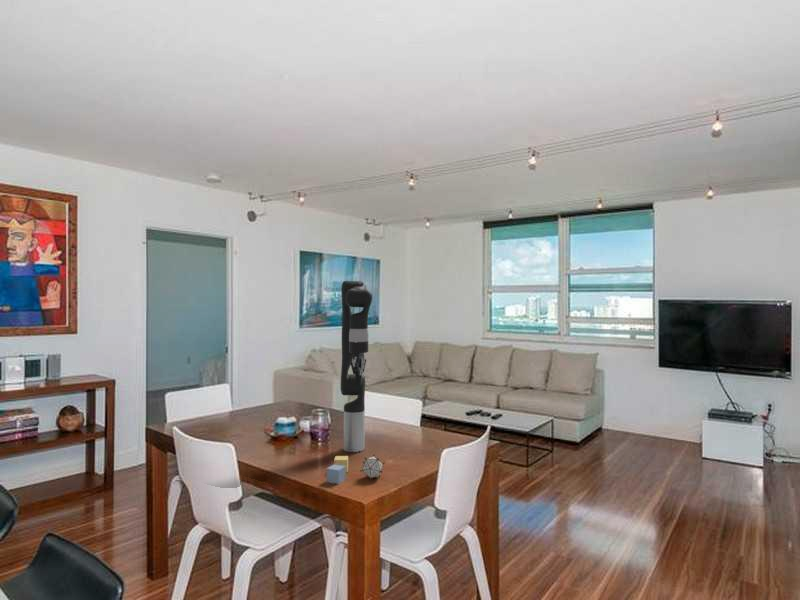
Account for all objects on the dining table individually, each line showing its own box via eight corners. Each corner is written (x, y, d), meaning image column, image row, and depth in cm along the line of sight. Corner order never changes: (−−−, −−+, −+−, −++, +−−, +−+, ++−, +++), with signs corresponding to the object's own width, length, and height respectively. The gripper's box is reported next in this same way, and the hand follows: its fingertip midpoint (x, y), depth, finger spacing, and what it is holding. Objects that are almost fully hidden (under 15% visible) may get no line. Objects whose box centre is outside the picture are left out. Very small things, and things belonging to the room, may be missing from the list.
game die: (368, 489, 182) (352, 469, 180) (372, 473, 190) (357, 454, 187) (387, 480, 179) (372, 459, 177) (391, 464, 187) (376, 445, 185)
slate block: (333, 478, 183) (333, 464, 183) (345, 479, 181) (345, 466, 181) (326, 482, 179) (326, 468, 179) (338, 484, 177) (338, 470, 177)
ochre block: (335, 468, 193) (335, 456, 194) (348, 468, 194) (348, 455, 194) (334, 473, 188) (334, 460, 189) (347, 473, 189) (347, 459, 189)
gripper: (354, 339, 201) (354, 381, 200) (344, 341, 188) (343, 386, 187) (372, 339, 199) (372, 382, 199) (362, 341, 186) (362, 387, 186)
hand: (358, 384), depth 193 cm, fingers closed
